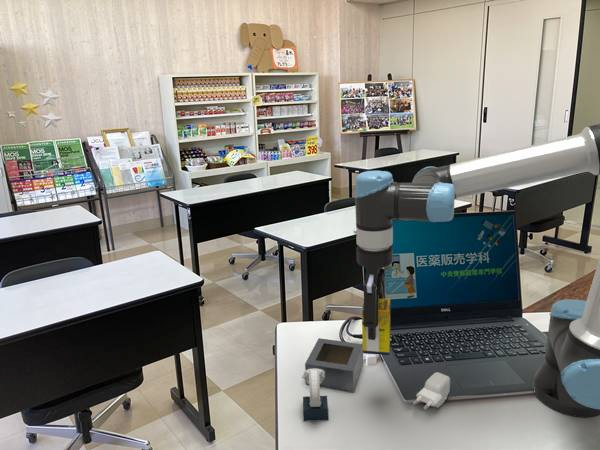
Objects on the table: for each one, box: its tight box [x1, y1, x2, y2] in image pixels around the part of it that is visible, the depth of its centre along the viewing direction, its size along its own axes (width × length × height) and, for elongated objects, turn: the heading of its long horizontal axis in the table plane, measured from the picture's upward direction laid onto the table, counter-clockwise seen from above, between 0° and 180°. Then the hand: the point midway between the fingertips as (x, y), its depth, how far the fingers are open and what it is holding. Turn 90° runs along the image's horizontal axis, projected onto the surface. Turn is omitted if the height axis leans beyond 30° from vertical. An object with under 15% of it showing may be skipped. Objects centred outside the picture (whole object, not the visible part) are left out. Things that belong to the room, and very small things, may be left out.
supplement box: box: [361, 298, 391, 356], centre depth 105 cm, size 6×6×11 cm
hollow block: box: [304, 337, 364, 393], centre depth 120 cm, size 12×12×6 cm
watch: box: [301, 369, 329, 422], centre depth 106 cm, size 6×8×11 cm
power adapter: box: [412, 371, 451, 411], centre depth 107 cm, size 11×5×6 cm, turn 137°
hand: (375, 341), depth 106 cm, fingers closed on supplement box, 6 cm apart
